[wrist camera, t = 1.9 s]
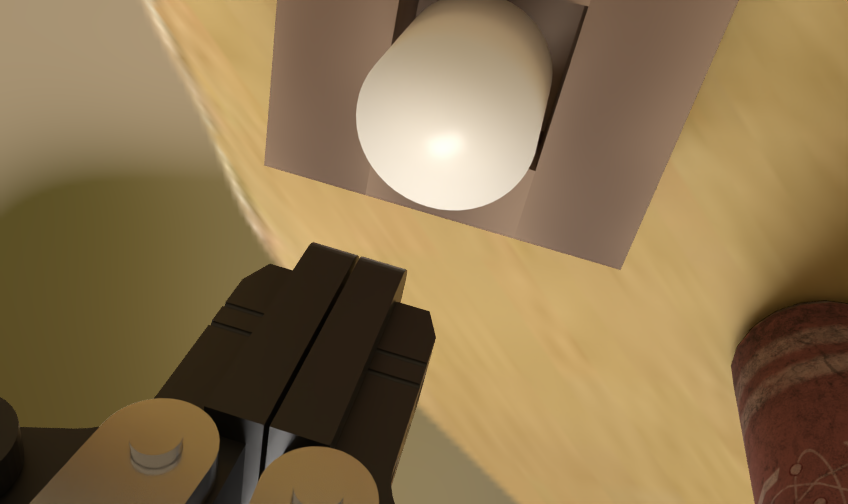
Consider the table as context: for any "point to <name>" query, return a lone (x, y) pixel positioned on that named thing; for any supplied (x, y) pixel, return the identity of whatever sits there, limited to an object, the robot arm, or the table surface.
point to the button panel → (562, 124)
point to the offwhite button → (457, 104)
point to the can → (796, 404)
